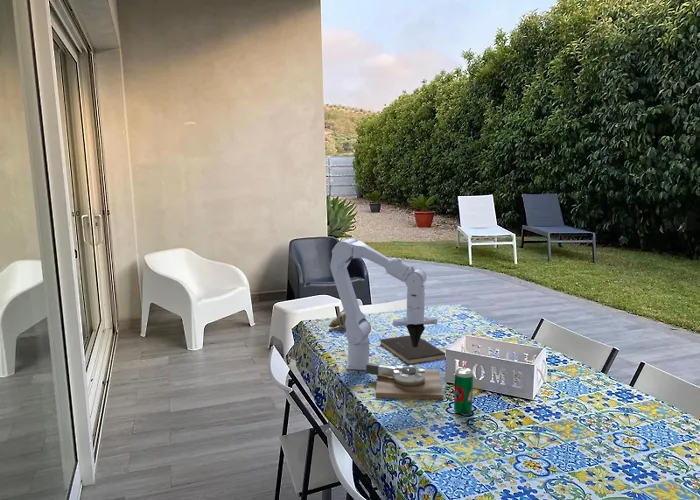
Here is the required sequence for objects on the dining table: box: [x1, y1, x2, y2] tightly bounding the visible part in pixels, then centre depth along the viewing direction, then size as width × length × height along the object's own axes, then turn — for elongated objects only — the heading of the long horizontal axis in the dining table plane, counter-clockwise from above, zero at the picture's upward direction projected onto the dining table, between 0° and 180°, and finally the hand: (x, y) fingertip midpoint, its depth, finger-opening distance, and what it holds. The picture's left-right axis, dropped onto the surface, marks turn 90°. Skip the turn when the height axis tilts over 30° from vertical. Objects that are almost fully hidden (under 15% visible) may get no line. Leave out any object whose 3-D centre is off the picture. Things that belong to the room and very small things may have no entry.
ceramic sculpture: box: [328, 309, 346, 329], centre depth 236 cm, size 11×9×15 cm
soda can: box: [453, 367, 474, 415], centre depth 158 cm, size 5×5×12 cm
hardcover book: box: [379, 334, 446, 365], centre depth 209 cm, size 16×23×2 cm
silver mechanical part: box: [365, 362, 425, 386], centre depth 179 cm, size 19×10×4 cm, turn 68°
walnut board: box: [375, 368, 444, 401], centre depth 177 cm, size 20×20×2 cm
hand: (414, 346), depth 186 cm, fingers closed
